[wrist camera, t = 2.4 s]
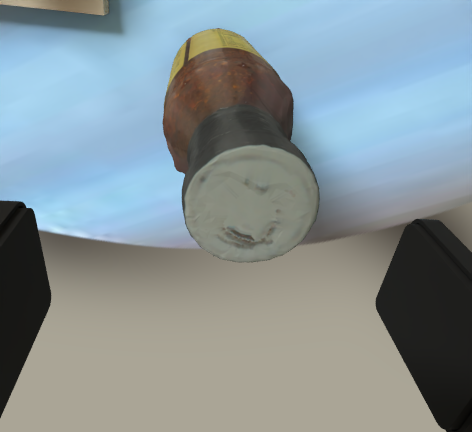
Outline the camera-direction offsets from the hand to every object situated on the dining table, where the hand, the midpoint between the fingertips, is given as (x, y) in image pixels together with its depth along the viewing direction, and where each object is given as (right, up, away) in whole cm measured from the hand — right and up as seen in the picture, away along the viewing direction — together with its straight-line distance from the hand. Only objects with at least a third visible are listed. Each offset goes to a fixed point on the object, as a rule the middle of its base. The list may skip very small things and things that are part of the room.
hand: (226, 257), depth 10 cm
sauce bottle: (-1, +12, +18) cm, 22 cm away
